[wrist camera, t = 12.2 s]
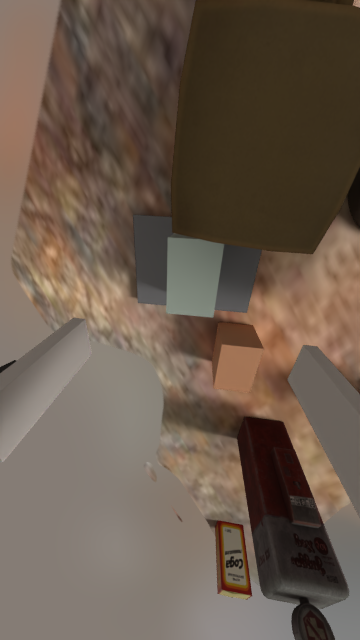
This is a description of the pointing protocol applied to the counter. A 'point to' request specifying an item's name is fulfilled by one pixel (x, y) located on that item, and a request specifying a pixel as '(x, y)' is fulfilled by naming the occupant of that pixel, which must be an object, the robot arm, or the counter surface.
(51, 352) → the robot arm
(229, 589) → the baking soda box
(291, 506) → the toy vending machine
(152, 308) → the counter surface
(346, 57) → the wooden toy train
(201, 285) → the sage brick
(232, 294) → the base plate
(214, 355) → the terracotta brick
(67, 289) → the counter surface
